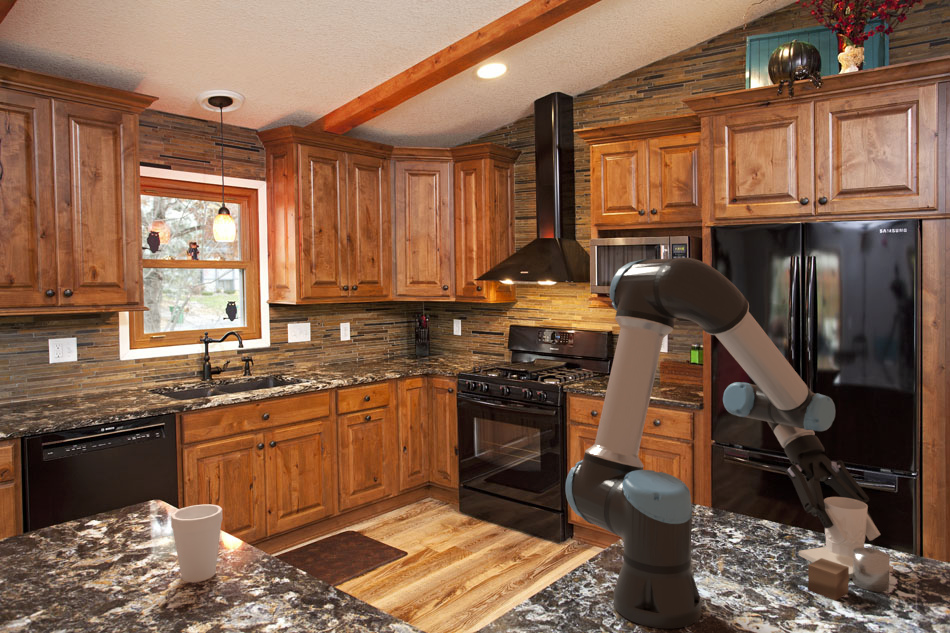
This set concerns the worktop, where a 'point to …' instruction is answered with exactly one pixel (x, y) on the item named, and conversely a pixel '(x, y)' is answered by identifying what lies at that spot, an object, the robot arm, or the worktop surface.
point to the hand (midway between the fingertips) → (858, 539)
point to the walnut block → (828, 579)
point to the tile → (830, 558)
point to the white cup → (847, 524)
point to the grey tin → (871, 569)
